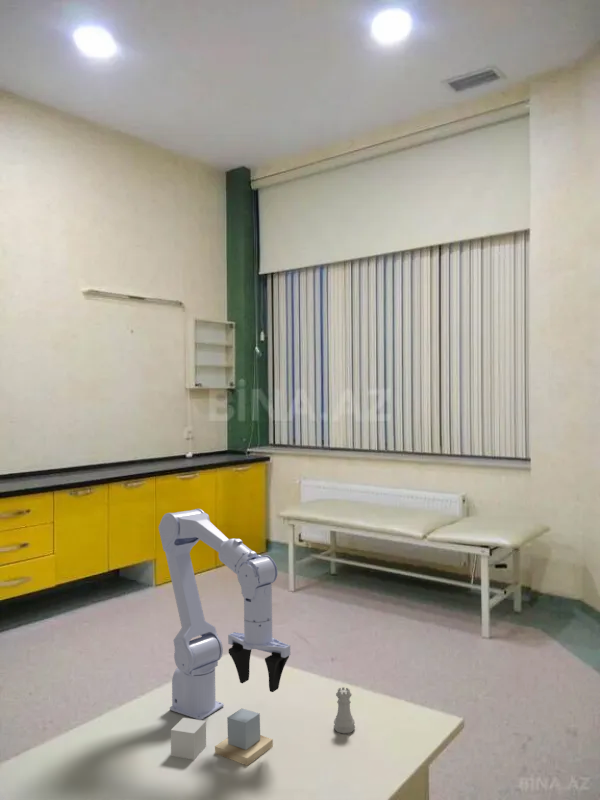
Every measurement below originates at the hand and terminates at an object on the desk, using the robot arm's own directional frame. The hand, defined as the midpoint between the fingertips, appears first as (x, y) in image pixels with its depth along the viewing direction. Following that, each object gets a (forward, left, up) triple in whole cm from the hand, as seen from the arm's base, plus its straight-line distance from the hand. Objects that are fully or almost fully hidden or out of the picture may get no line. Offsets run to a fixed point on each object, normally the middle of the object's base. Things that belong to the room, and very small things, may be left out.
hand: (259, 685), depth 123 cm
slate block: (0, -5, -9) cm, 10 cm away
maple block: (0, -5, -11) cm, 12 cm away
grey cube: (-9, -11, -10) cm, 18 cm away
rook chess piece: (+13, +12, -11) cm, 21 cm away
